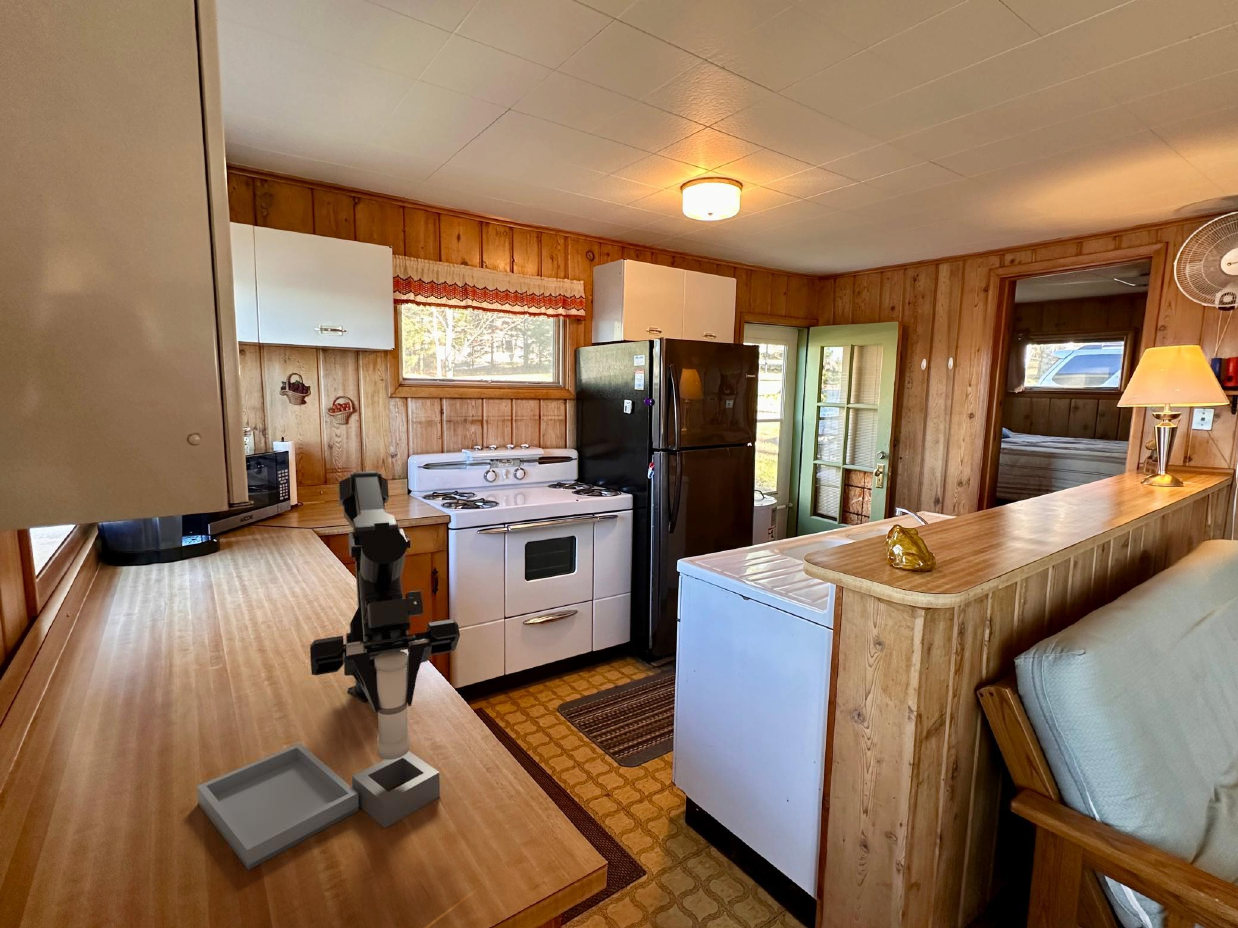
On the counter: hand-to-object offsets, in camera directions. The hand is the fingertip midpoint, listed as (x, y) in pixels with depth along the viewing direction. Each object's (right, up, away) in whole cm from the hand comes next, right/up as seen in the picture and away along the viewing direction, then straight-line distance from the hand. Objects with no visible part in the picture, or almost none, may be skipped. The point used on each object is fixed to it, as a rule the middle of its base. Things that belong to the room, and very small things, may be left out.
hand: (393, 708), depth 79 cm
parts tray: (-15, -13, +1) cm, 20 cm away
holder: (-1, -13, +3) cm, 14 cm away
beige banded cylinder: (-1, -6, +2) cm, 7 cm away
